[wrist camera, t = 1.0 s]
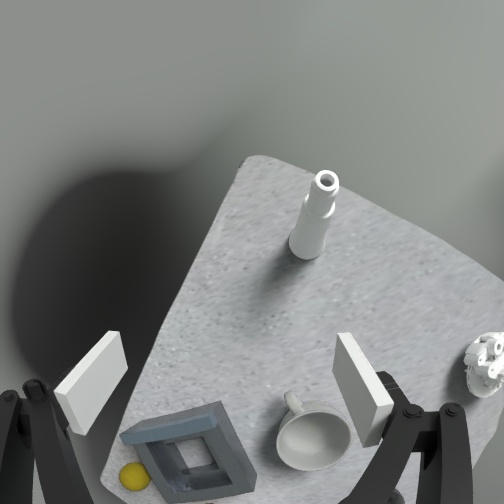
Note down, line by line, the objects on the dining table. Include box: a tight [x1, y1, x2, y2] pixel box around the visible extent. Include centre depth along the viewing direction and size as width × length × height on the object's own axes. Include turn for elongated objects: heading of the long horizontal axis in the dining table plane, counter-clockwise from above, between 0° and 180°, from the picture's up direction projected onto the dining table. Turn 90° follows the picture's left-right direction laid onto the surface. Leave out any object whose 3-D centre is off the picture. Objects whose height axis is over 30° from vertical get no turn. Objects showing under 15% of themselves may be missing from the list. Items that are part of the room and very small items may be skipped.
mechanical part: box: [464, 332, 504, 398], centre depth 33 cm, size 11×12×12 cm
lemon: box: [119, 463, 151, 491], centre depth 36 cm, size 6×6×8 cm
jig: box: [120, 400, 257, 504], centre depth 36 cm, size 16×16×8 cm
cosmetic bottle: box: [289, 170, 339, 260], centre depth 36 cm, size 6×6×22 cm
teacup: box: [276, 390, 353, 471], centre depth 36 cm, size 14×11×8 cm
